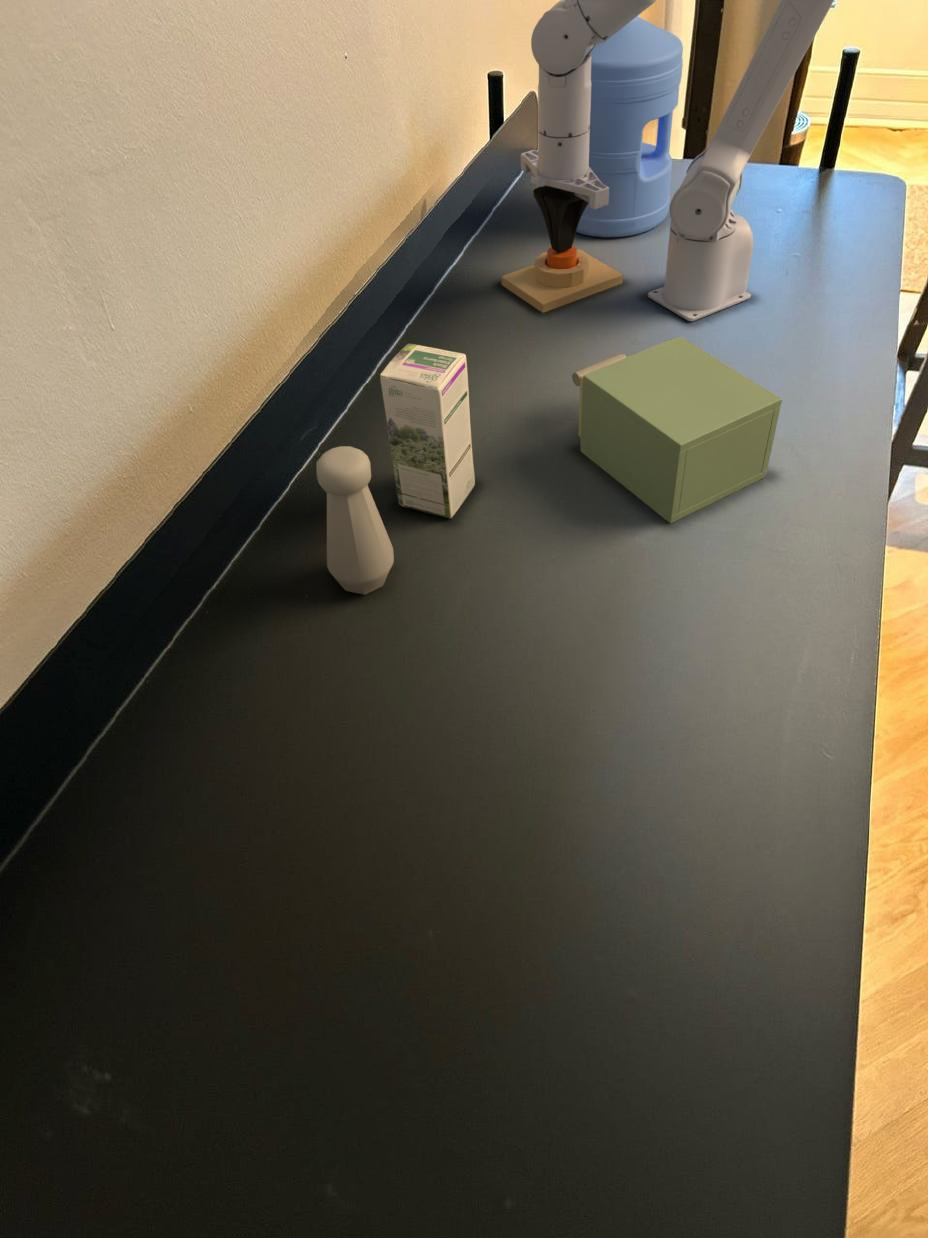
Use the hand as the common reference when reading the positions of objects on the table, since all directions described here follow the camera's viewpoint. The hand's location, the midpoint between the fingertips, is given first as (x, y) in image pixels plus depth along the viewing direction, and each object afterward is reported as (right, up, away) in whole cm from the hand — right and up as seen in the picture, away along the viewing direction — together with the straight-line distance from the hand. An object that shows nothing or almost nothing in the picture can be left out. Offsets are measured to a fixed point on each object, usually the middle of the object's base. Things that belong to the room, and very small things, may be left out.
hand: (561, 248), depth 115 cm
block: (0, -3, +3) cm, 5 cm away
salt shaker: (-21, -41, -32) cm, 56 cm away
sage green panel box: (+8, -30, -23) cm, 39 cm away
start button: (0, -1, +1) cm, 2 cm away
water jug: (+8, +11, +16) cm, 21 cm away
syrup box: (-14, -33, -24) cm, 44 cm away
